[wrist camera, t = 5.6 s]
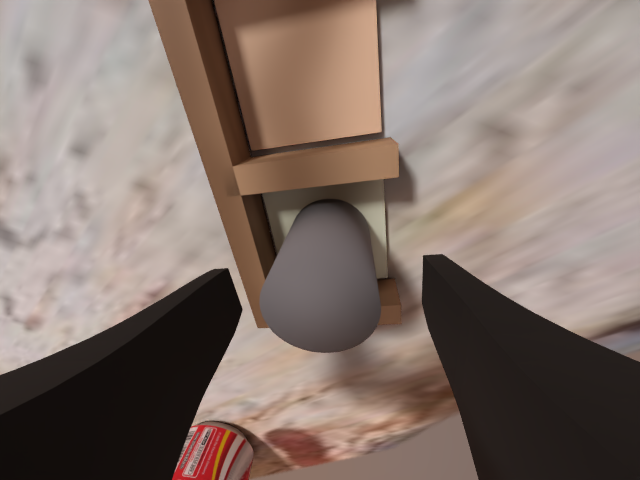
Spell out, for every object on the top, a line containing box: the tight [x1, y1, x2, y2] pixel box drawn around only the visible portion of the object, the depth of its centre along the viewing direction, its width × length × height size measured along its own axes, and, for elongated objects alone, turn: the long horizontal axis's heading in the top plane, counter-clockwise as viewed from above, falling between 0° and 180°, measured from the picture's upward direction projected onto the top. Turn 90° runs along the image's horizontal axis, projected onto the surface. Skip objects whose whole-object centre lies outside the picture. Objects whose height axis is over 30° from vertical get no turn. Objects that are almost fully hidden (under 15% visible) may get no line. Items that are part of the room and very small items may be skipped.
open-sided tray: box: [149, 0, 401, 328], centre depth 11 cm, size 8×16×2 cm, turn 9°
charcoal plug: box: [260, 199, 381, 353], centre depth 11 cm, size 4×4×6 cm
